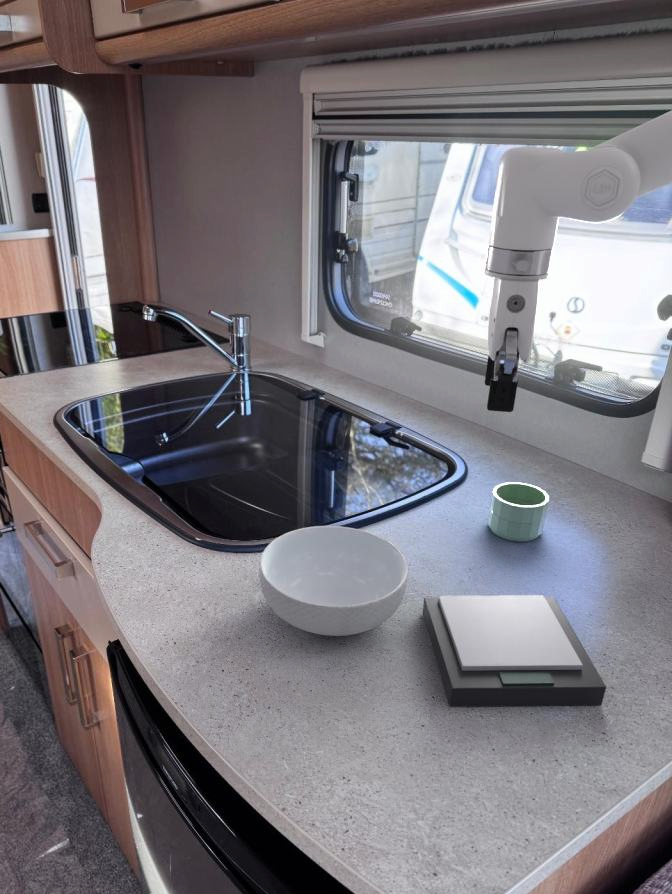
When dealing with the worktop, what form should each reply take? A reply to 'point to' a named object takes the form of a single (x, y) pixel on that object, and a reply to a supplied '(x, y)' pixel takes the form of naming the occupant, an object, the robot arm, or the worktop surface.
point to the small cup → (518, 511)
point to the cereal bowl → (333, 579)
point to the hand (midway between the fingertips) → (497, 397)
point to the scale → (509, 652)
